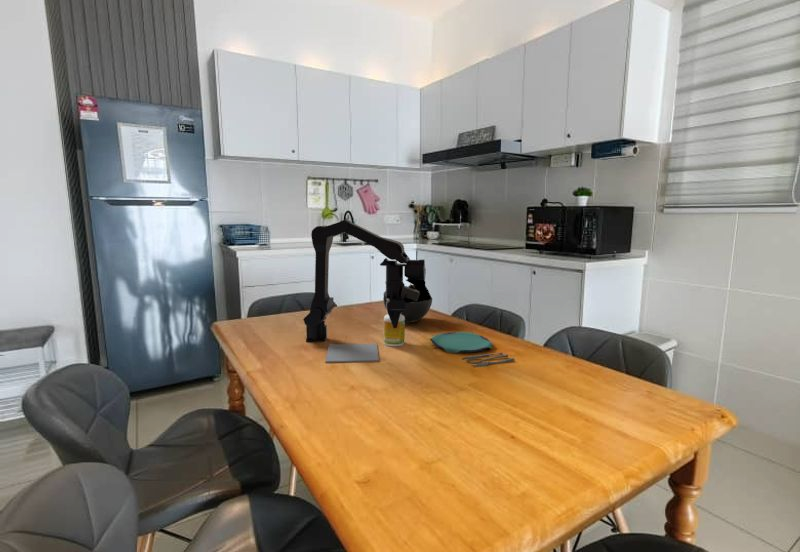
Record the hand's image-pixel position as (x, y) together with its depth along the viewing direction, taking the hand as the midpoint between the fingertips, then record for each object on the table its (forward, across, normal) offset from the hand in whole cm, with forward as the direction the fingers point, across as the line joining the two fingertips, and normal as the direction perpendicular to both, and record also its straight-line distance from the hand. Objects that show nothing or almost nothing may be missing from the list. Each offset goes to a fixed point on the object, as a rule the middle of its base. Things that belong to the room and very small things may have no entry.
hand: (394, 324), depth 144 cm
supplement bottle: (+7, 0, 0) cm, 7 cm away
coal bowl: (+7, +29, -8) cm, 31 cm away
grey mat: (+7, -9, +14) cm, 18 cm away
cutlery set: (+8, -8, -24) cm, 26 cm away
